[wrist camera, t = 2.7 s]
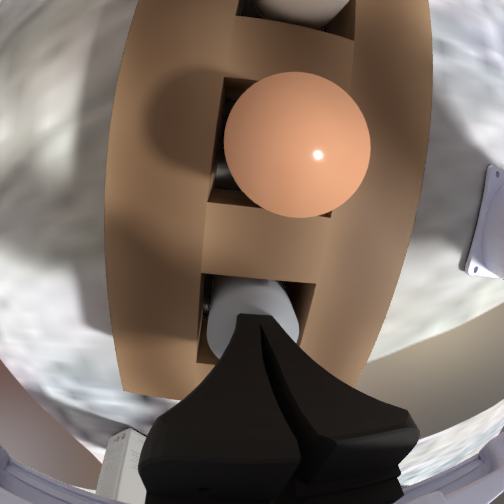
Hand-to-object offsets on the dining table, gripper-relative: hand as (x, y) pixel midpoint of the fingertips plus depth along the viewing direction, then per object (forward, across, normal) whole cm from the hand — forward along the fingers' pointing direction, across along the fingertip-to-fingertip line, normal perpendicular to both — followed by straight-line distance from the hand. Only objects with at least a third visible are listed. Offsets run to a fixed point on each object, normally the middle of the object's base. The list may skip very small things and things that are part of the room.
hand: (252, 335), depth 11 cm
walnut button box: (+4, 0, -7) cm, 8 cm away
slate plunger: (+4, 0, 0) cm, 4 cm away
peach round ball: (+2, 0, -7) cm, 7 cm away
